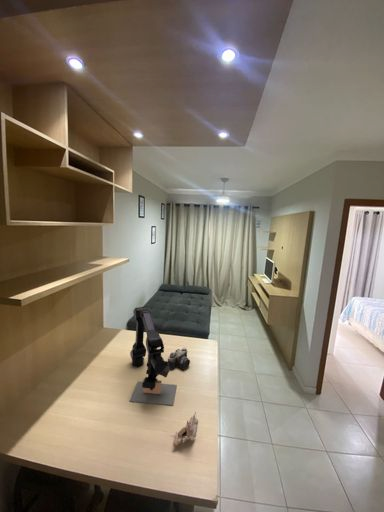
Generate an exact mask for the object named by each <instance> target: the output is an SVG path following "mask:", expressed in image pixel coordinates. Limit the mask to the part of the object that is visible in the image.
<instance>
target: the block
mask: <svg viewBox="0 0 384 512" xmlns="http://www.w3.org/2000/svg"><path fill="white" fill-rule="evenodd" d="M161 384H163V383H162V380H159V379H158V380H157V382H156V386H155V388H154V389H153V390H150V388H143V392H144V393H154V394H161Z"/></svg>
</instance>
